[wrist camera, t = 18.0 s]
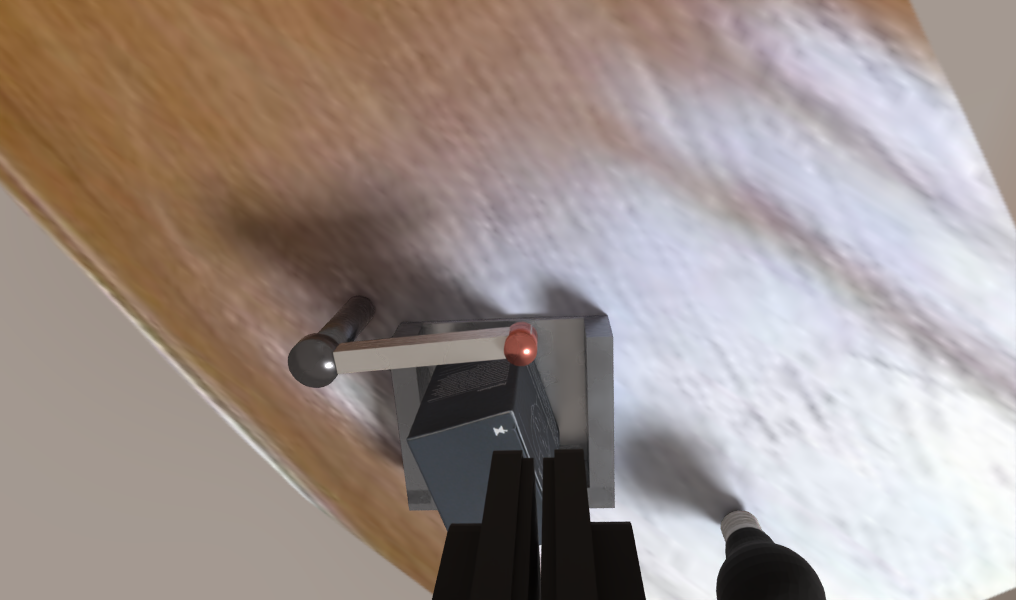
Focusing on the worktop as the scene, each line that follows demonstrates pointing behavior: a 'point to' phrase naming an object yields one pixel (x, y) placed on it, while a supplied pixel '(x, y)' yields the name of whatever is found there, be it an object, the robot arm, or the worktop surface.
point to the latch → (408, 352)
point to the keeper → (563, 370)
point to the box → (479, 432)
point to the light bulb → (762, 565)
